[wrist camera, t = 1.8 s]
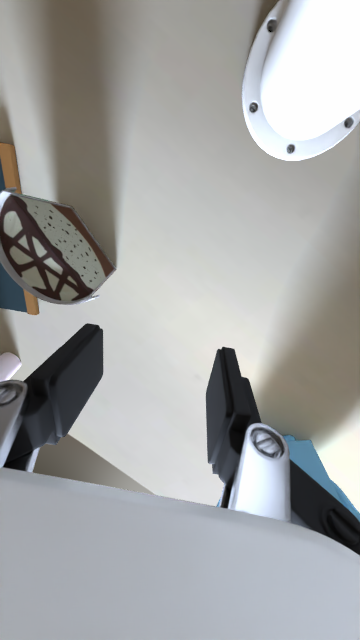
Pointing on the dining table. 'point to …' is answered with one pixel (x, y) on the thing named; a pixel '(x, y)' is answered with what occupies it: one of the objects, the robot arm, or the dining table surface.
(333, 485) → the teakettle
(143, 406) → the dining table surface
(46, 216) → the food container
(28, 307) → the dark blue notebook
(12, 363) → the smoothie
